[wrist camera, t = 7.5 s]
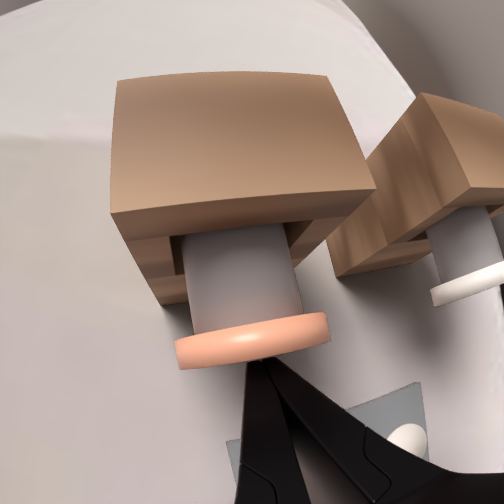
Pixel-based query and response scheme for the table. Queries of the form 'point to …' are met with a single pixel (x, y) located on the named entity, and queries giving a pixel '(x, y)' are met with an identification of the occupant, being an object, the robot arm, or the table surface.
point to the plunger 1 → (243, 298)
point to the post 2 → (422, 183)
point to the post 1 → (229, 164)
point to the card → (382, 422)
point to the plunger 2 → (465, 254)
